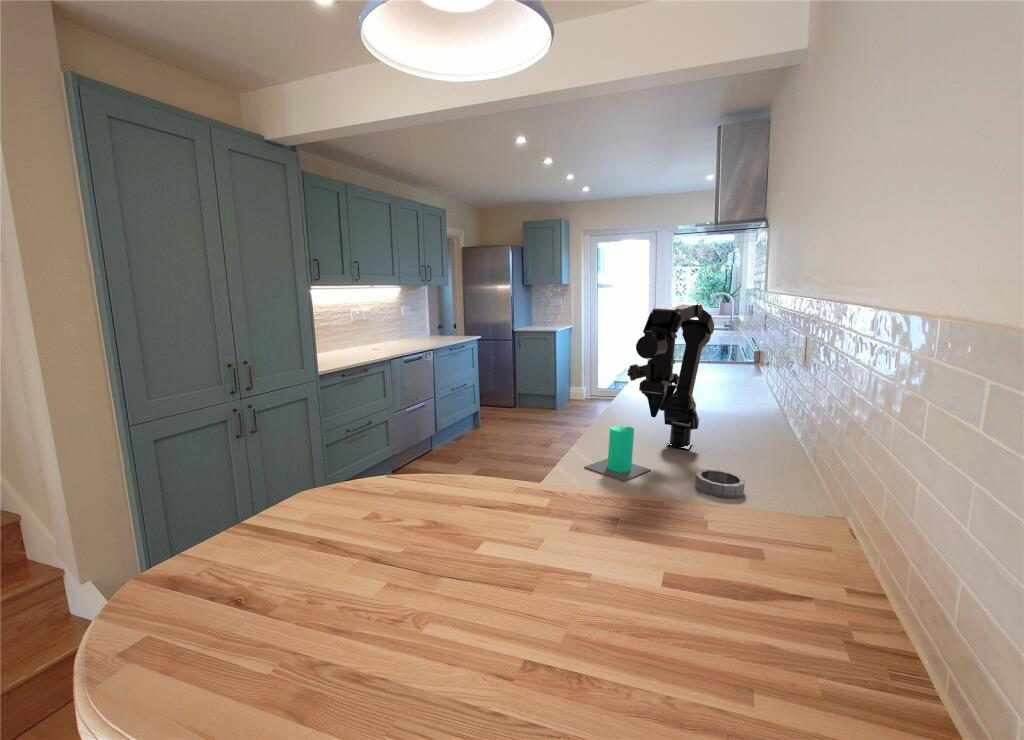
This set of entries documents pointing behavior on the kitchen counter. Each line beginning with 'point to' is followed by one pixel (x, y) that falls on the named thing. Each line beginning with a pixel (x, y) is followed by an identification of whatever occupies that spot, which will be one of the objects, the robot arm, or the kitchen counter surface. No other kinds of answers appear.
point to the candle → (620, 448)
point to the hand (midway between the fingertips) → (657, 413)
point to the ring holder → (720, 484)
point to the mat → (603, 469)
